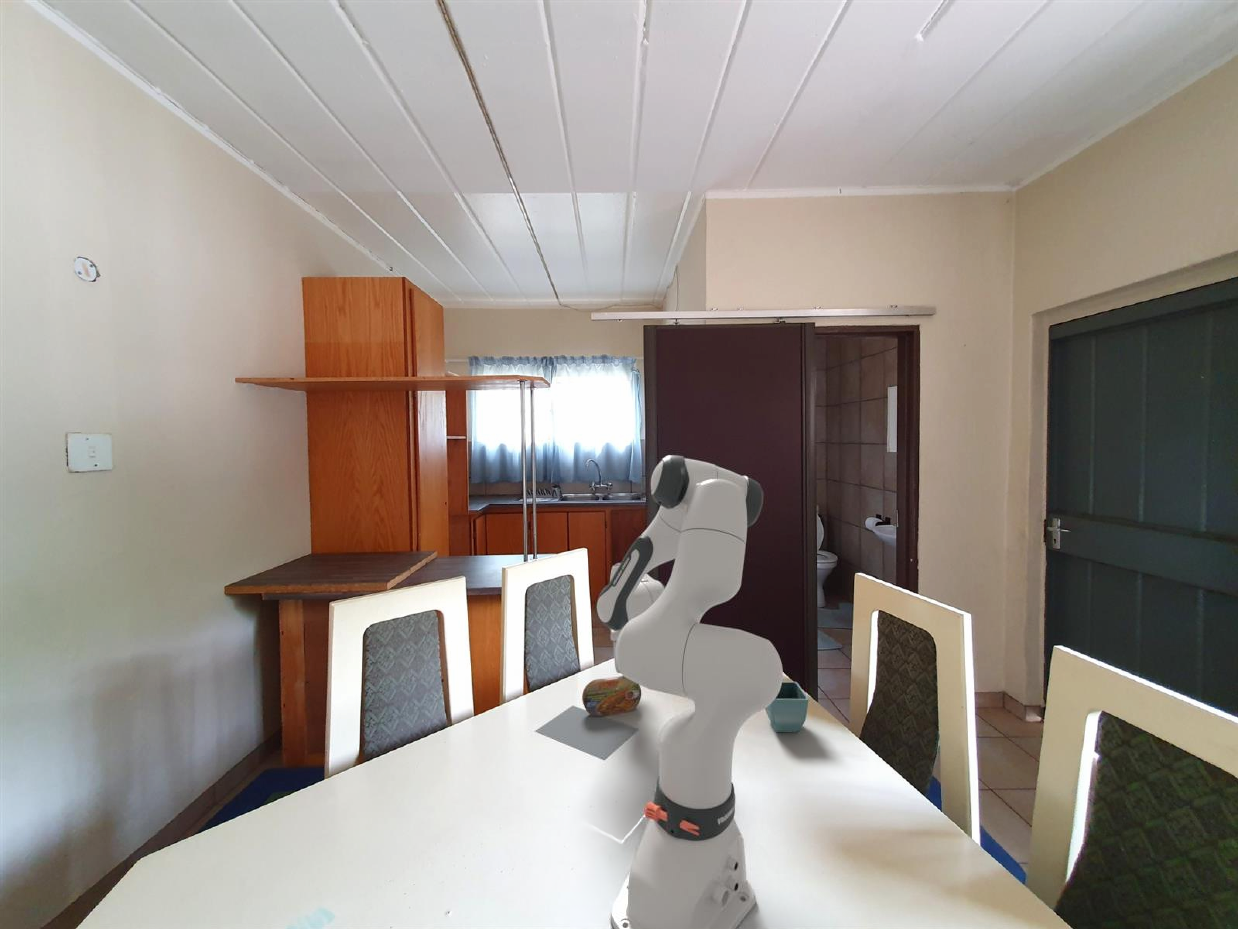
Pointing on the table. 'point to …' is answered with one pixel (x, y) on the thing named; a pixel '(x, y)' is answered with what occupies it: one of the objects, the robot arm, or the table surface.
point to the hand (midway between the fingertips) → (627, 675)
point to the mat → (587, 732)
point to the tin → (611, 696)
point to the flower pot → (788, 708)
